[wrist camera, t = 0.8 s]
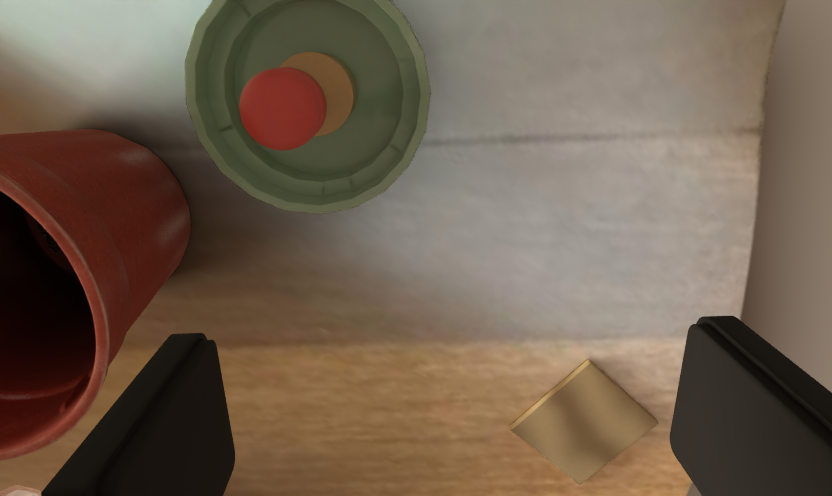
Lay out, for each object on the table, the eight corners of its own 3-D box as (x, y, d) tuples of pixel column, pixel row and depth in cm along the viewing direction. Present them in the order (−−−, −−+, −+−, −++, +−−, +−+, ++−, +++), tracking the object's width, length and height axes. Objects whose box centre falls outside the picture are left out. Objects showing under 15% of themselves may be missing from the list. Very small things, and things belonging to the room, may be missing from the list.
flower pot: (-35, 261, 39) (-307, 391, 24) (13, 49, 34) (-290, 46, 19) (181, 345, 42) (58, 508, 27) (254, 160, 37) (154, 233, 22)
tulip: (313, 34, 34) (260, 23, 21) (372, 89, 35) (355, 110, 22) (265, 94, 35) (187, 117, 22) (324, 145, 36) (282, 196, 24)
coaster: (588, 358, 44) (590, 362, 43) (655, 418, 46) (658, 423, 45) (509, 425, 46) (510, 430, 45) (577, 480, 48) (579, 485, 47)
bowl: (304, -80, 32) (287, -103, 28) (468, 85, 36) (479, 90, 31) (171, 97, 36) (136, 104, 31) (334, 232, 39) (325, 256, 35)
